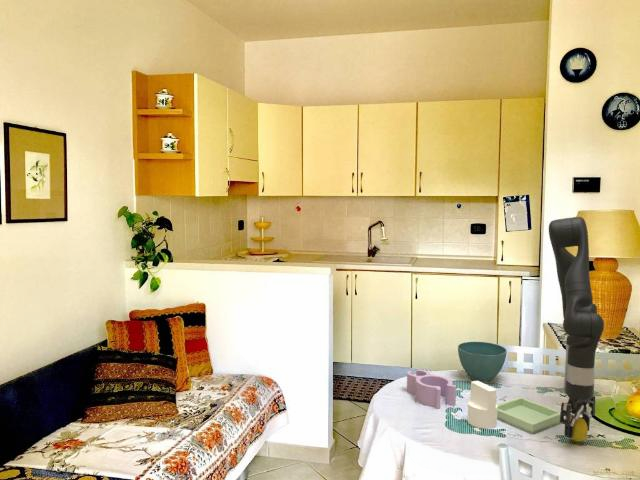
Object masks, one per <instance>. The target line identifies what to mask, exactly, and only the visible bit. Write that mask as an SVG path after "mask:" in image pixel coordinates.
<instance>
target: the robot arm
mask: <svg viewBox="0 0 640 480" xmlns="http://www.w3.org/2000/svg"><path fill="white" fill-rule="evenodd" d="M588 234H589V233H588V227H587V222H586V220H585V218H584V217H582V216H574V217H564V218H559V219H554V220H552V221H550V222H549V225H548V236H549V241H550V243H551V248H552V251H553V255H554V259H555V260H554V261H555V266H556V272H557V273H556V274H557V280H558V285H559V289H560V294H561V302H562V315H563V321H562V328H563V330H564V332H565V333H566V335H567V337H566V340H565V341H566V344H565V359H564V360H565V363H564V379H563V380H564V381H563V382H564V383H563V390H564V392H565V395H567V397H568V401H567V402H561V404H560V412H561V413H560V424H564V431H563V432H564V436H565V437H566V438H568V439H571V438H572V437H573V424H574V422H575V420H577V419H578V417H580V415H581V418H583V419H584V420H585V422H586V424H587V427H588V432H589V431H590V425H591V424H590V423H591V422H590V421H591V419H592V416H593V417H595V415H596V399H597V398H596V396H595V395H594V393H595V379H596V378H595V377H596V376H595V374H596V372H595V361H596V360H595V359H596V352H597V348H598V346H599V342H600V339H601V338H602V335H603V332H604V330H605V328H604V327H605V322H604V319H603V317H602V316H601V315H600V314H599V313H598V307H597V305H596V304H595V303H593V302H594V301H593V300H594V299H593V293H592V287H591V280H590V279H591V278H590V249H589V246H590V245H589V235H588ZM571 247H577V253H576V255H574V254H572V253H571V252H570V251H568V249H567V248H571ZM570 418H572V419H571V421H570Z"/></svg>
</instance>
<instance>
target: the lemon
mask: <svg viewBox="0 0 640 480" xmlns="http://www.w3.org/2000/svg"><path fill="white" fill-rule="evenodd" d="M581 417H582V416H581ZM581 417H580V416H579V417H578V419H577V420H575V422H574V424H573V437H572V438H570V439H571V440H573V442H575V443H579V442H581V441H583V440H585V439H586V438H587V436H588V433H589V431H588V427H587V424H586V422H585V420H584V419H583V418H581ZM571 419H572V418H570V421H571Z"/></svg>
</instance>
